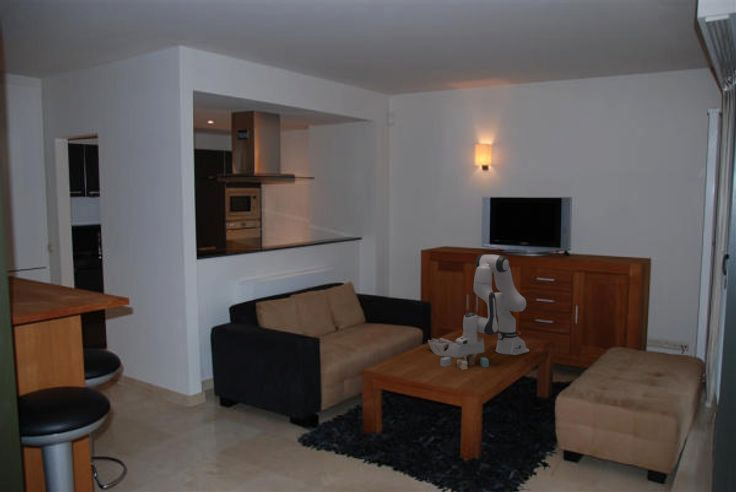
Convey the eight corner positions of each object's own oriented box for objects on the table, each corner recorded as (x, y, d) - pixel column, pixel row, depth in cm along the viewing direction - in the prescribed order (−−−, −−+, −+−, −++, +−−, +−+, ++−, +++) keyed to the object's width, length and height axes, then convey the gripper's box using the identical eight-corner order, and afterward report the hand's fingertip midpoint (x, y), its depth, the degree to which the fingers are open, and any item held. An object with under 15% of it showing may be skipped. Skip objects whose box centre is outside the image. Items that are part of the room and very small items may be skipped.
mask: (438, 332, 421) (476, 340, 402) (437, 345, 422) (475, 354, 403) (421, 338, 406) (460, 346, 387) (421, 351, 407) (459, 360, 388)
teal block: (480, 364, 379) (480, 357, 378) (485, 364, 379) (485, 357, 378) (482, 367, 373) (483, 360, 372) (488, 367, 373) (488, 360, 373)
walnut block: (464, 363, 381) (464, 355, 381) (469, 362, 383) (469, 355, 382) (470, 365, 376) (470, 358, 376) (474, 364, 378) (474, 357, 377)
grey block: (446, 363, 380) (446, 356, 379) (450, 365, 377) (450, 357, 377) (440, 366, 376) (440, 358, 375) (444, 367, 373) (444, 359, 373)
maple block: (456, 367, 373) (456, 360, 373) (461, 366, 375) (461, 359, 374) (462, 370, 368) (462, 362, 367) (467, 369, 369) (467, 361, 369)
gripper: (480, 336, 385) (480, 357, 387) (453, 339, 376) (453, 361, 378) (486, 338, 379) (486, 360, 381) (459, 342, 371) (458, 364, 372)
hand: (469, 361), depth 379 cm, fingers closed on walnut block, 3 cm apart
